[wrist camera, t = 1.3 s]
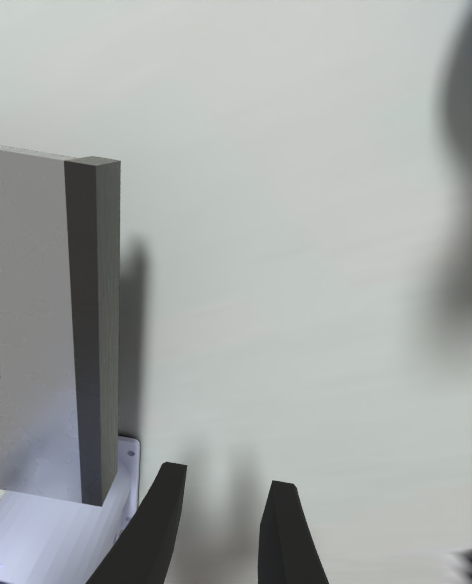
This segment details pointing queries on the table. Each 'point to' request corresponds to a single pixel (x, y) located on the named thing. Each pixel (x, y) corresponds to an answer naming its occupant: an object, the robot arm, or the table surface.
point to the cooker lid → (59, 324)
